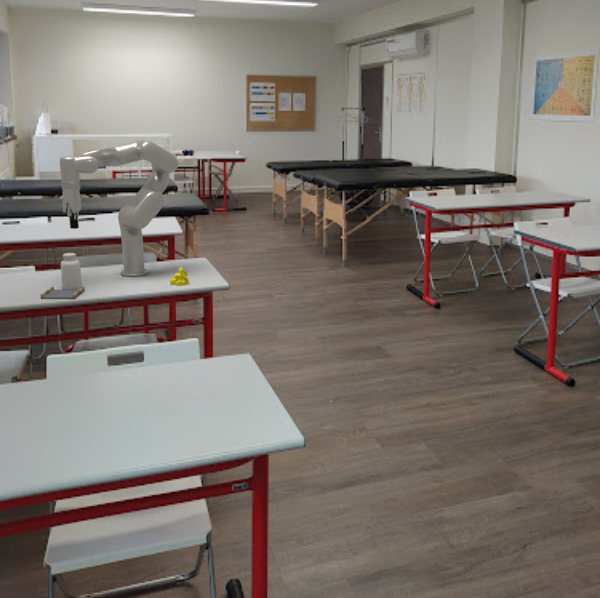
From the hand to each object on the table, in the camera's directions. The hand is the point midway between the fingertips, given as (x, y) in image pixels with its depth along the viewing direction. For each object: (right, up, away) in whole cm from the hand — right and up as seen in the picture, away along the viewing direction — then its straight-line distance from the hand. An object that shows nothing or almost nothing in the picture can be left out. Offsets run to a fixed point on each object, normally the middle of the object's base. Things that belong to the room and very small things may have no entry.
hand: (74, 228), depth 297 cm
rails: (0, -29, -13) cm, 32 cm away
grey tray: (0, -29, -13) cm, 32 cm away
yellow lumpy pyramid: (+45, -25, +4) cm, 52 cm away
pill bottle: (0, -26, -2) cm, 26 cm away
